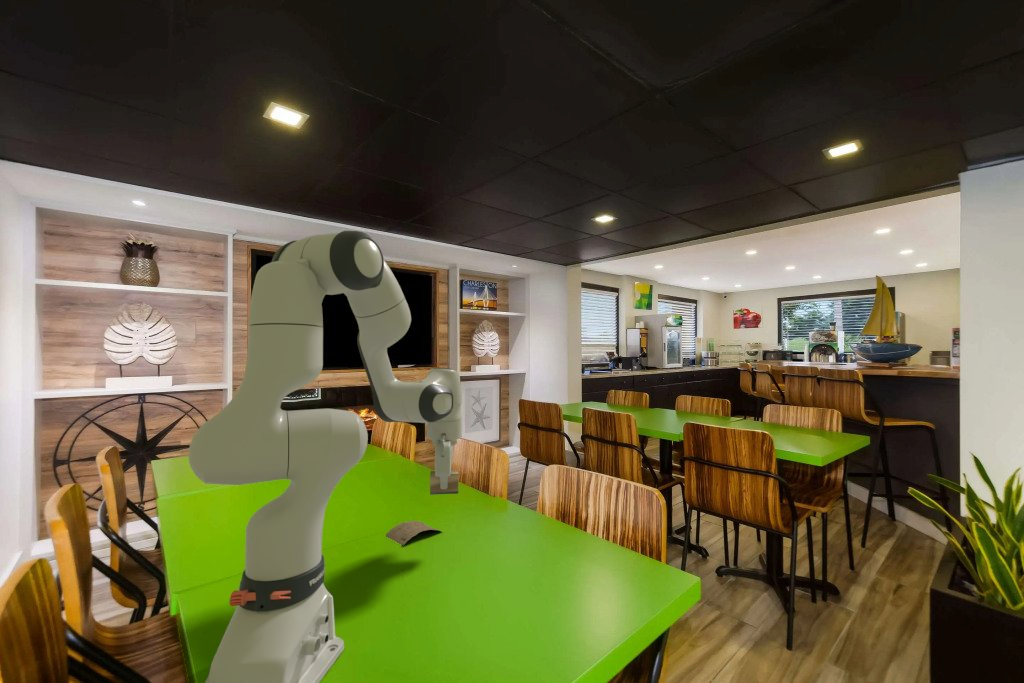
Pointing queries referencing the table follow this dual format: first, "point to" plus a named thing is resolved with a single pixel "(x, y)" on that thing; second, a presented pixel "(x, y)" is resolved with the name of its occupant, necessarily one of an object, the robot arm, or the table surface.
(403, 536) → the clay tablet
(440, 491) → the block
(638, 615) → the table surface
